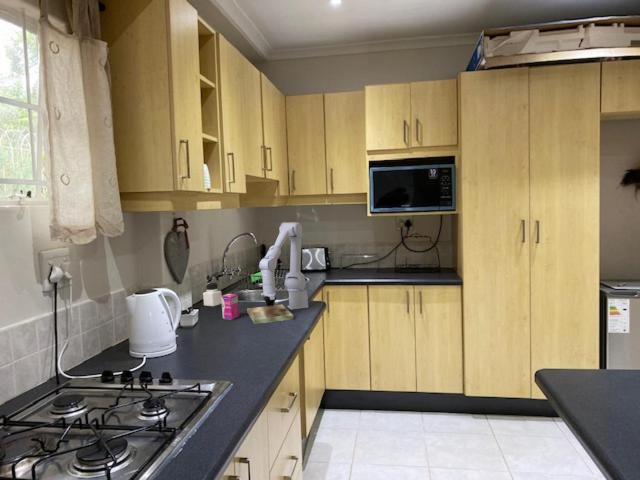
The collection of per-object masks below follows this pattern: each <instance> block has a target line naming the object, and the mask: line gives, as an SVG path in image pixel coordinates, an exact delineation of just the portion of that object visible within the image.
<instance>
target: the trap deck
mask: <svg viewBox="0 0 640 480" xmlns="http://www.w3.org/2000/svg"><path fill="white" fill-rule="evenodd" d="M276 305H277V306H278V307H279V314H280V316H278V317H270V318H267V317H266V316H265V315H264V307H265V306H258V307H250V308H249V307H248V308H247V309H246V310H247V311H246V312H247V314H248V316H249V317H250V319H251V321H252V322H253V323H254V325H259V324H260V323H261V324H267V323H268V322H269V323H275V322H276V321H277V322H283V321H284V320H285V321H289V320H290V321H292V320H294V315H293V313H292V312H291V311H290V310H289V309H288V308H287V307H285V306H284V304H276ZM269 323H268V324H269ZM261 324H260V325H261Z"/></svg>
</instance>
